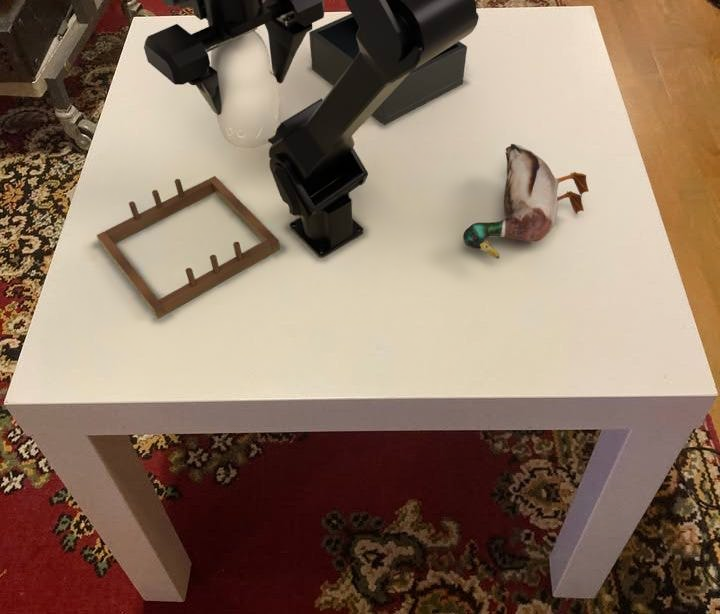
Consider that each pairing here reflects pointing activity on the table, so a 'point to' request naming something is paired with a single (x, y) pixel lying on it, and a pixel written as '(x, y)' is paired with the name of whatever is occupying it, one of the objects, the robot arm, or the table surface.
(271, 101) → the figurine
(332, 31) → the dark grey open box
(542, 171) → the decorative duck model
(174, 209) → the drying rack
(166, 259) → the table surface
